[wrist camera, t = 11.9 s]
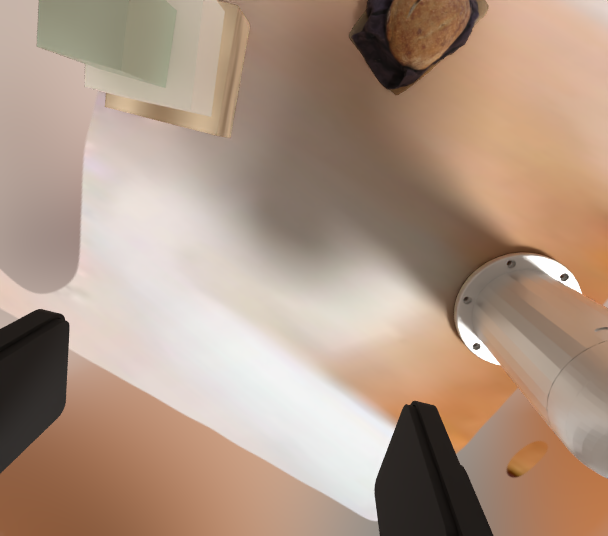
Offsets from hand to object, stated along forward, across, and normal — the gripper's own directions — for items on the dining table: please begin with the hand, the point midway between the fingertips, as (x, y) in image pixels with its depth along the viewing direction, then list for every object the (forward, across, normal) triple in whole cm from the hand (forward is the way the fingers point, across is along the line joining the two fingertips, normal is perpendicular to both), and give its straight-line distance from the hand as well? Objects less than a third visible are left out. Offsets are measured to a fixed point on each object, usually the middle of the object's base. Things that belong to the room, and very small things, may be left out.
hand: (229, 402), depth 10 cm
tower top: (+26, +14, -11) cm, 31 cm away
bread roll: (+31, -6, -19) cm, 37 cm away
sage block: (+21, +14, -11) cm, 27 cm away
